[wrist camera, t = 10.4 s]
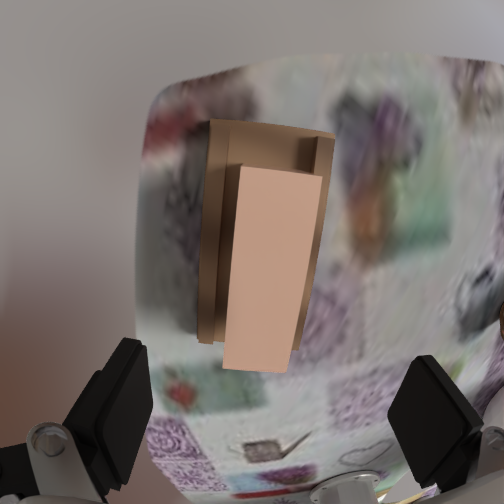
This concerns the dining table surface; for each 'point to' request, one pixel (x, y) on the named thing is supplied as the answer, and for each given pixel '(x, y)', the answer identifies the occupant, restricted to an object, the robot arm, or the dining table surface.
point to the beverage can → (423, 498)
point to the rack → (225, 205)
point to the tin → (502, 321)
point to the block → (269, 265)
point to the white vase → (495, 411)
